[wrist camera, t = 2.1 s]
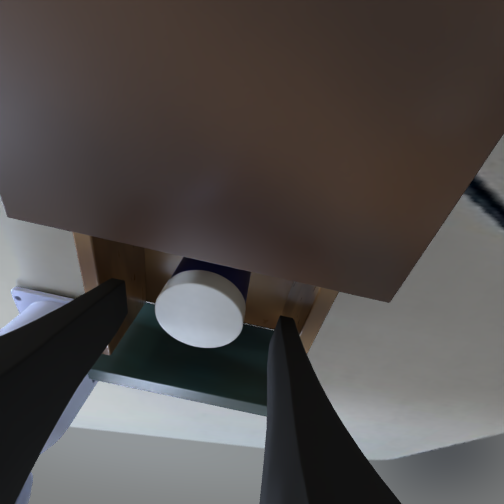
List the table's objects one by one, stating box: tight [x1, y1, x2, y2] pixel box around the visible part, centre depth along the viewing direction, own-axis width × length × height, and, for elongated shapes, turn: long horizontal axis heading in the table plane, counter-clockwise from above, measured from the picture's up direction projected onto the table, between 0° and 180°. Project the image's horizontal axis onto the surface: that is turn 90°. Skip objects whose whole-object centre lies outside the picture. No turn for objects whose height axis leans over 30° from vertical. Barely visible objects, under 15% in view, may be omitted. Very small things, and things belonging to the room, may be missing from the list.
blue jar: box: [155, 257, 251, 348], centre depth 14 cm, size 4×4×5 cm
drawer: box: [73, 232, 339, 417], centre depth 15 cm, size 19×12×6 cm, turn 169°
